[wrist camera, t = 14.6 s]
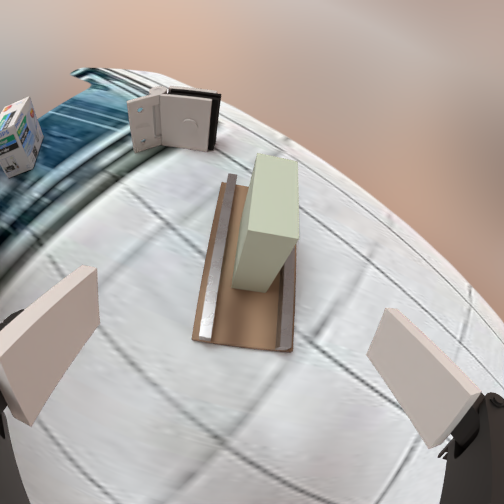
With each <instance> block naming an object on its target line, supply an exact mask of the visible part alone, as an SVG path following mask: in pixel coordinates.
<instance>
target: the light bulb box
mask: <svg viewBox="0 0 504 504" xmlns="http://www.w3.org/2000/svg"><path fill="white" fill-rule="evenodd" d="M42 140H43V134H42V131H41V128H40V126H39V123H38V120H37V117H36V114H35V111H34V108H33V105H32V101H31V98H30V97H27V98H24V99H22V100H20V101H17V102H15V103H13V104H11V105H8V106H6V107H5V108H4V109H3V111H2V112H1V114H0V165H1V166H2V168H3V170H4V172H5V174H6V175H7V177H8V178H10V177H13V176H15V175H18V174H20V173H23V172H26V171H28V170H31V169H33V168H34V164H35V161H36V158H37V155H38V152H39V149H40V146H41V143H42Z"/></svg>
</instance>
